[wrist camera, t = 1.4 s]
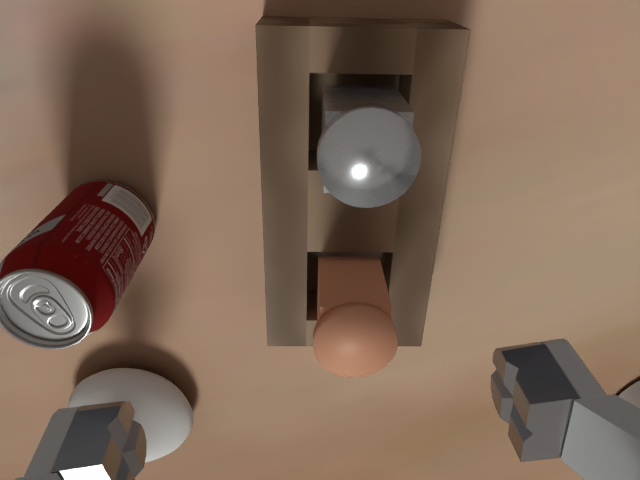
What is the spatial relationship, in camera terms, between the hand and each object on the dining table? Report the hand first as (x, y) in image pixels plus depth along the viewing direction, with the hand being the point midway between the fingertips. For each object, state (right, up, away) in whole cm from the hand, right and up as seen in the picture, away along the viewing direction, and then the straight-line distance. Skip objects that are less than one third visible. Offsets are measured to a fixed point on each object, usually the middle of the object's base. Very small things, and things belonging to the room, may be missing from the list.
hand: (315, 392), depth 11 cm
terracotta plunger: (+2, 0, +26) cm, 26 cm away
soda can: (-16, +5, +28) cm, 32 cm away
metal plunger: (+2, +11, +20) cm, 23 cm away
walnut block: (+2, +8, +27) cm, 28 cm away
